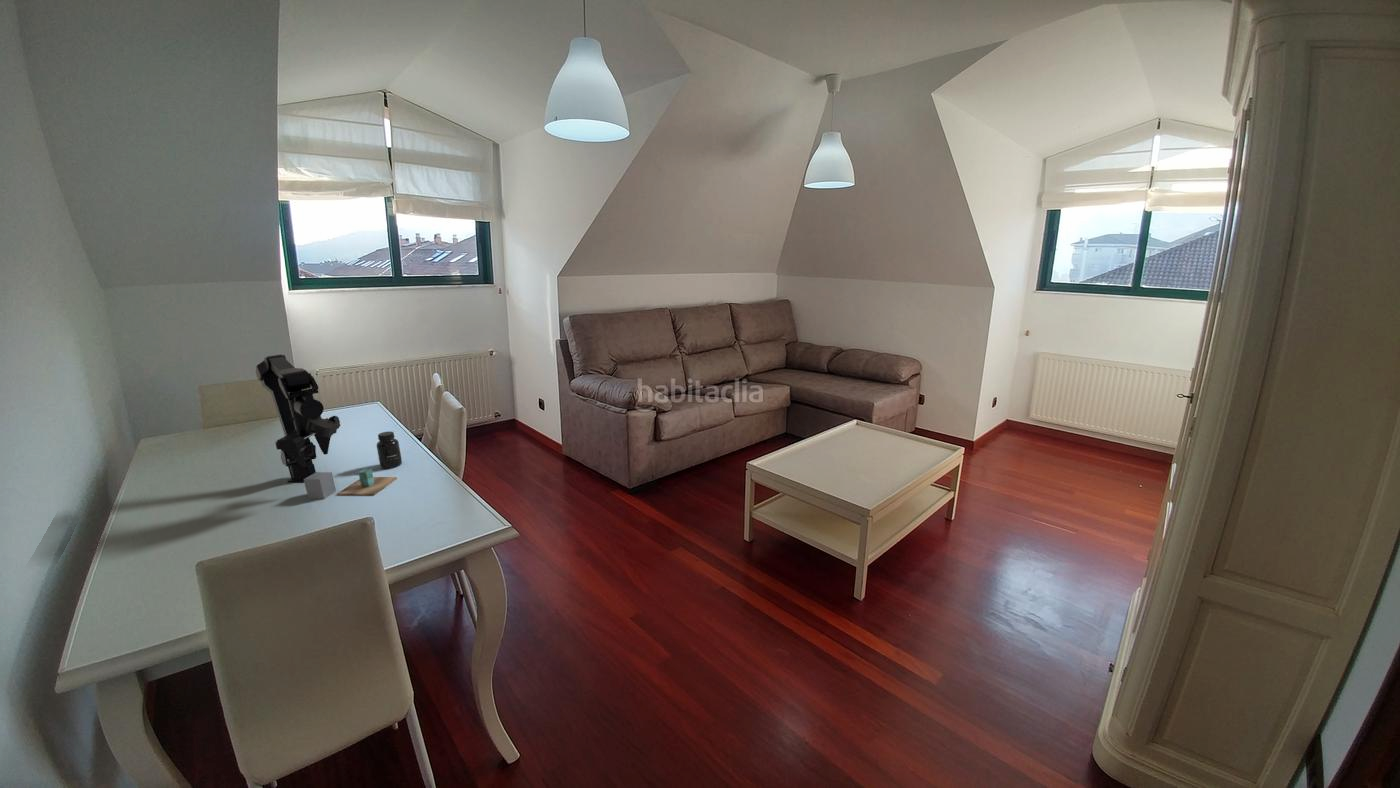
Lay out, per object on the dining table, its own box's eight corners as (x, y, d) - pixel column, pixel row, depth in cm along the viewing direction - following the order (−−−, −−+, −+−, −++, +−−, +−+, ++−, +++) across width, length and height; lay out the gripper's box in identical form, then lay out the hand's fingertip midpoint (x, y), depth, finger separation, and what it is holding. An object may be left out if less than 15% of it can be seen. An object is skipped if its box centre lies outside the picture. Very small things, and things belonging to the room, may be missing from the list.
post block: (337, 495, 169) (333, 478, 167) (363, 478, 180) (359, 463, 179) (374, 495, 168) (370, 479, 166) (397, 478, 179) (394, 463, 178)
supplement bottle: (392, 469, 187) (386, 437, 183) (376, 468, 188) (369, 436, 185) (407, 462, 193) (401, 430, 190) (390, 460, 194) (384, 429, 191)
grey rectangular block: (308, 498, 167) (303, 479, 165) (320, 491, 172) (316, 472, 170) (324, 498, 166) (319, 479, 164) (336, 491, 171) (331, 472, 169)
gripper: (305, 422, 152) (317, 472, 156) (350, 402, 170) (360, 448, 174) (268, 422, 153) (281, 472, 157) (316, 402, 171) (327, 448, 175)
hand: (315, 460), depth 166 cm, fingers open, 9 cm apart
